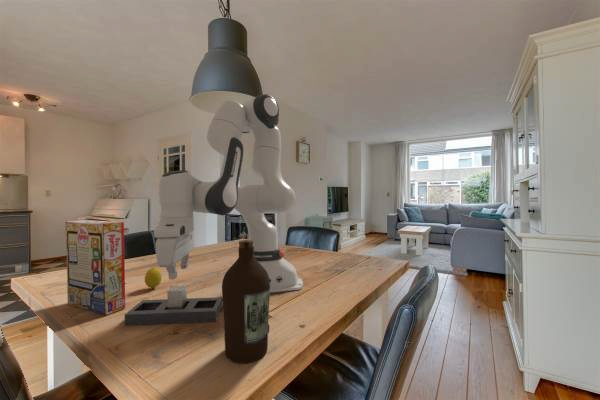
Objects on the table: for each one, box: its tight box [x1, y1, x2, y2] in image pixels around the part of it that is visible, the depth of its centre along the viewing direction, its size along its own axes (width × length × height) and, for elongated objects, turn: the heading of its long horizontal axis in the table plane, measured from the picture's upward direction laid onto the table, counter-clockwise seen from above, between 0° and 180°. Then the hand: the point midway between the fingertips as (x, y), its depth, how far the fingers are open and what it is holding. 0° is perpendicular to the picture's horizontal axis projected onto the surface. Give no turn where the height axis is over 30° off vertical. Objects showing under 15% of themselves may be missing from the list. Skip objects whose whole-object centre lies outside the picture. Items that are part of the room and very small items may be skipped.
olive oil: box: [221, 239, 271, 364], centre depth 61 cm, size 11×11×25 cm
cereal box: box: [65, 219, 126, 316], centre depth 85 cm, size 20×6×27 cm, turn 66°
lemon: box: [144, 267, 162, 289], centre depth 101 cm, size 6×6×8 cm
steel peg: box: [166, 285, 188, 310], centre depth 79 cm, size 4×4×8 cm
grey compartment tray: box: [124, 296, 223, 327], centre depth 79 cm, size 24×10×3 cm, turn 95°
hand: (179, 273), depth 79 cm, fingers open, 8 cm apart
